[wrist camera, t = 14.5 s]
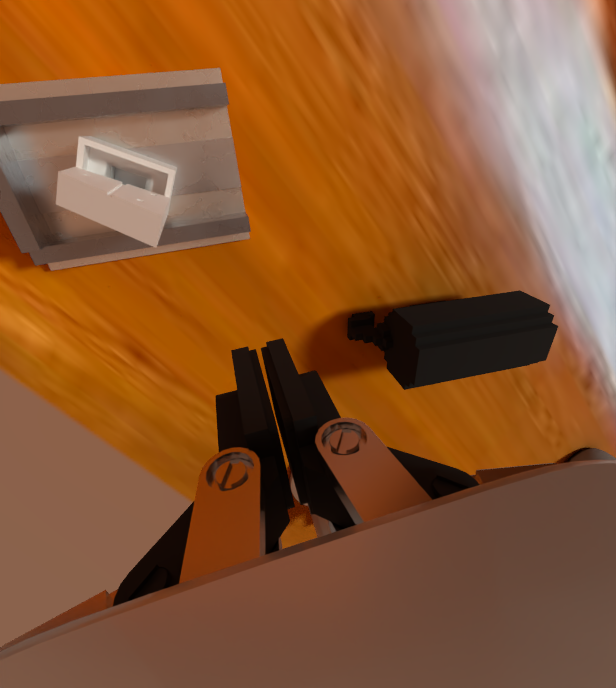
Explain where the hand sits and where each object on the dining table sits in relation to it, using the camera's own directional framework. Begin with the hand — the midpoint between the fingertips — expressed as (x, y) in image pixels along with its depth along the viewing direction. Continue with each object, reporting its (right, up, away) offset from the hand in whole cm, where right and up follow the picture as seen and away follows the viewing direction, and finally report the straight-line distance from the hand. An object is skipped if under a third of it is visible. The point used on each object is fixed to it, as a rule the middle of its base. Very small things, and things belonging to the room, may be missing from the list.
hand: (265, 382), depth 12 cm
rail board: (-12, +14, +16) cm, 25 cm away
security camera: (+14, +5, +30) cm, 34 cm away
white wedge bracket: (-12, +14, +15) cm, 24 cm away
